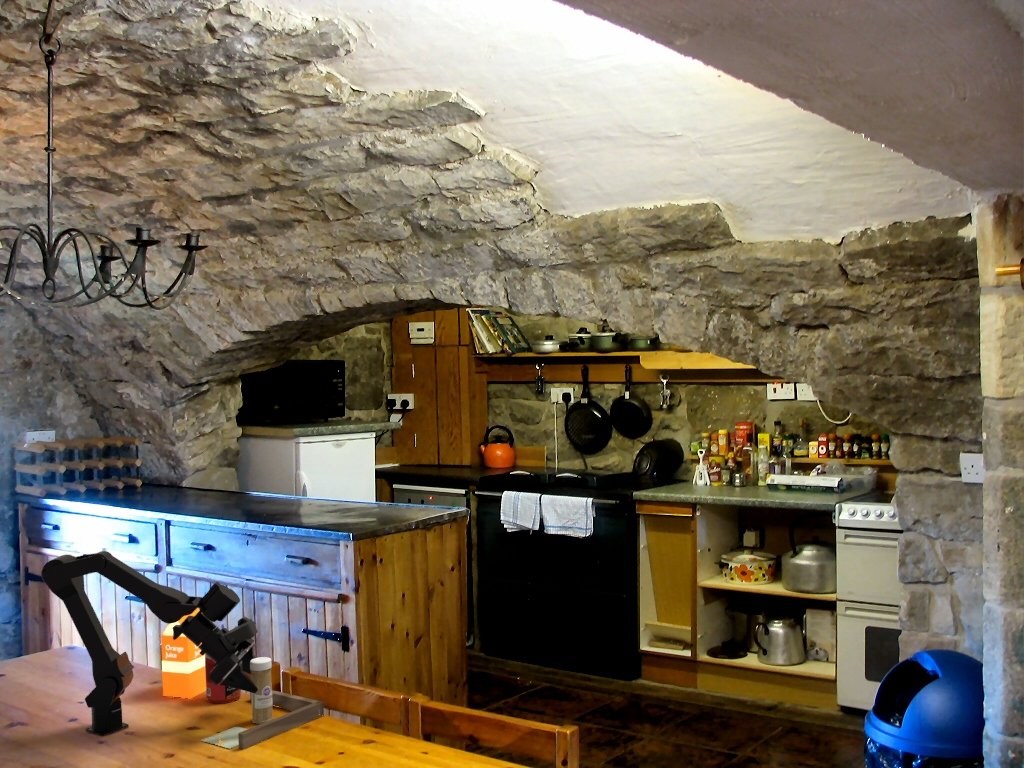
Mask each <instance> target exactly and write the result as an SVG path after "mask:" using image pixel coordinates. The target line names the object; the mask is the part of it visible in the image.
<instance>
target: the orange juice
mask: <svg viewBox="0 0 1024 768" xmlns="http://www.w3.org/2000/svg"><path fill="white" fill-rule="evenodd" d="M200 610H201V609H199V608H197V609H196V610H195V611H194V612H193V613H192V614H190V615H187V616H184V617H183V618H181V619H180V620H179V621H177V622H175V623H171V624H168V623H167V625H166V626H165V629H164V630H163V632H162V634H161V636H160V638H161V639H160V641H161V642H160V644H161V645H160V646H161V673H162V697H163V696H173V697H172V698H174V697H181V698H180V699H185V698H188V700H190V699H192V698H194V697H196V696H198V695H200V694H202V693H204V692H206V674H205V654H204V655H203V656H202V655H201V654H200V651H201V650H200V649H199V648H198V647H199V646H200V645H201V644H200V645H199V646H198V647H197V646H196V645H195V644H194V643H192V642H191V641H190V640H189V639H188V638H187V637H186V636H185V635H183V634H181V635H180V636H179V637H178V638H177V639H176V640H173V629H172V628H173V627H174V626H175V625H180V624H181V623H182V622H183V621H184V620H185V619H186V618H187V617H188V616H195V615H196V614H197V613H198V612H199V611H200Z"/></svg>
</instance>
